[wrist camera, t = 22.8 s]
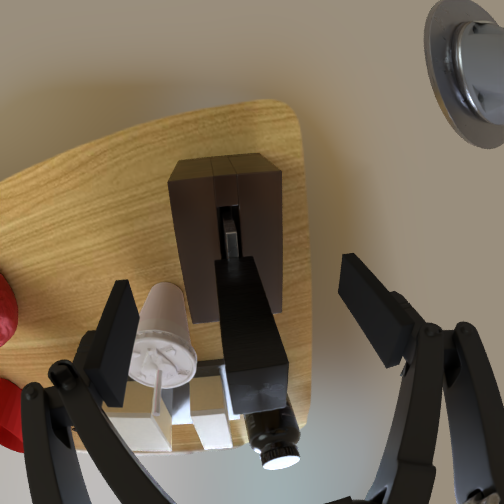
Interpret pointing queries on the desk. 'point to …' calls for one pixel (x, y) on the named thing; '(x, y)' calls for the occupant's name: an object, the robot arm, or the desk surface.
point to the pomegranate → (7, 311)
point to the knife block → (209, 225)
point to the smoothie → (163, 343)
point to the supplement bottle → (274, 436)
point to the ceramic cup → (10, 416)
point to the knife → (248, 330)
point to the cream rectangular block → (210, 412)
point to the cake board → (180, 396)
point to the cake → (141, 420)
